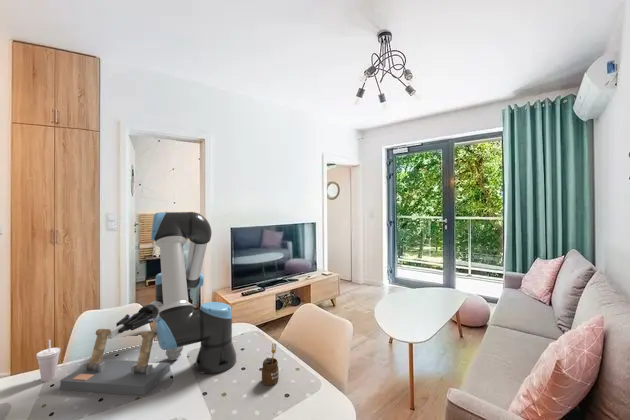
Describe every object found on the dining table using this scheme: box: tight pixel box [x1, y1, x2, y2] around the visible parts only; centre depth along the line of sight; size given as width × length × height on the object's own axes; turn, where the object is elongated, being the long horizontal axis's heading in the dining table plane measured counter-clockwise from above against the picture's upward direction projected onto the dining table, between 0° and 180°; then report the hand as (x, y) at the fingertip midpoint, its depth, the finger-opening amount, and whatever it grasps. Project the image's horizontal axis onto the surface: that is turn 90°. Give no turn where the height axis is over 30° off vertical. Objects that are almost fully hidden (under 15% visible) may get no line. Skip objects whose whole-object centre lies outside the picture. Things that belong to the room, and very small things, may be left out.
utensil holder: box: [261, 342, 280, 386], centre depth 101 cm, size 6×6×12 cm
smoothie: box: [35, 339, 61, 383], centre depth 102 cm, size 6×6×14 cm
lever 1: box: [87, 328, 112, 370], centre depth 104 cm, size 5×2×13 cm, turn 84°
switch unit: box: [59, 358, 171, 396], centre depth 102 cm, size 30×14×6 cm, turn 85°
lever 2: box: [134, 330, 157, 373], centre depth 103 cm, size 5×2×13 cm, turn 84°
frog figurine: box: [165, 346, 184, 361], centre depth 115 cm, size 6×7×7 cm
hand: (109, 335), depth 109 cm, fingers closed
